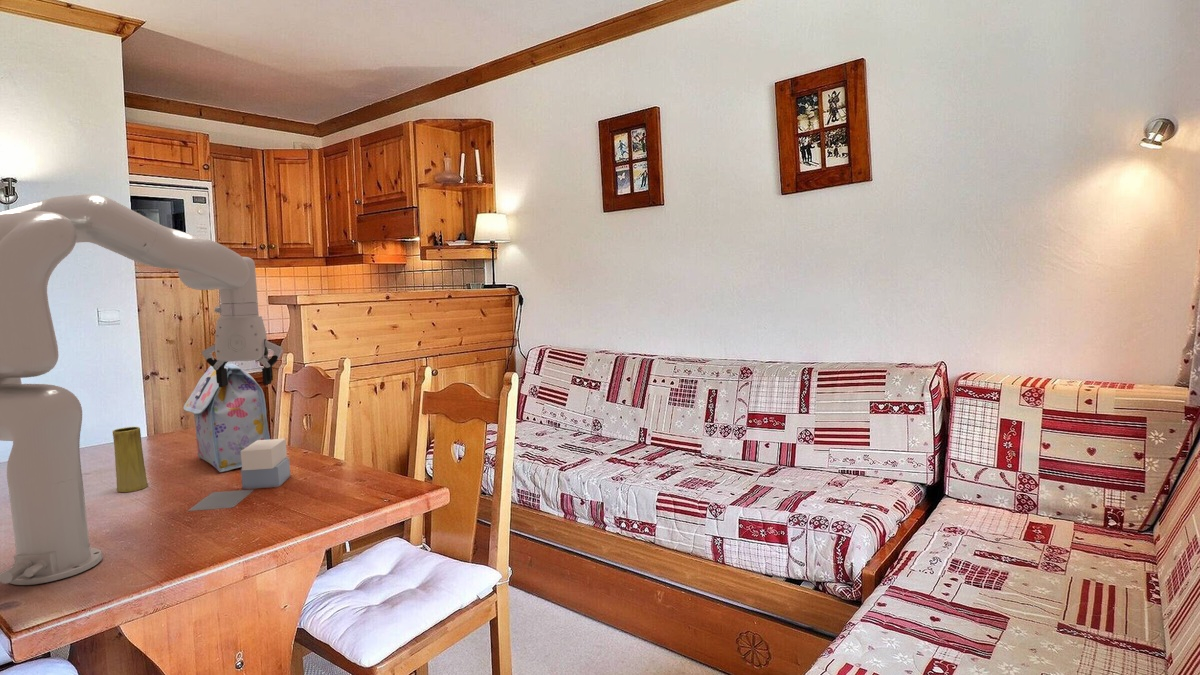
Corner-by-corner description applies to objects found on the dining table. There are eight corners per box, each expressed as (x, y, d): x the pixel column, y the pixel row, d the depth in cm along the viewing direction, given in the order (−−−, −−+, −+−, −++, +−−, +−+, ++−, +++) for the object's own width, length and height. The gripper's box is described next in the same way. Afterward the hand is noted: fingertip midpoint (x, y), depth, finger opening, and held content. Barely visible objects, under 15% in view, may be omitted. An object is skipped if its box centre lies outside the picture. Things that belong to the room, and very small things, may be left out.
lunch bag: (185, 460, 181) (176, 363, 178) (252, 447, 192) (245, 356, 189) (204, 477, 164) (195, 370, 162) (277, 462, 175) (269, 362, 173)
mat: (233, 509, 140) (232, 507, 140) (187, 512, 139) (187, 510, 139) (254, 491, 152) (254, 489, 152) (212, 494, 150) (212, 492, 150)
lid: (272, 468, 152) (271, 449, 151) (242, 470, 151) (240, 451, 150) (287, 456, 161) (285, 438, 161) (258, 458, 161) (257, 440, 160)
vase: (131, 493, 153) (125, 432, 152) (109, 492, 154) (103, 432, 153) (154, 484, 159) (148, 426, 158) (132, 484, 160) (126, 426, 159)
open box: (279, 488, 153) (277, 466, 153) (242, 490, 152) (240, 469, 152) (290, 477, 161) (289, 457, 161) (255, 480, 160) (254, 459, 160)
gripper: (191, 313, 147) (197, 389, 149) (273, 310, 149) (278, 386, 151) (207, 311, 155) (213, 384, 156) (285, 309, 157) (290, 381, 158)
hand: (245, 385), depth 153 cm, fingers open, 9 cm apart
